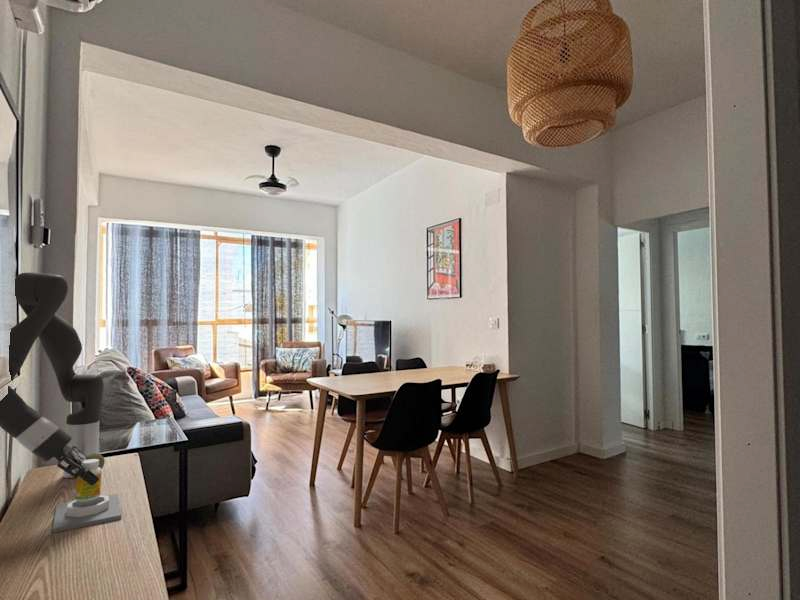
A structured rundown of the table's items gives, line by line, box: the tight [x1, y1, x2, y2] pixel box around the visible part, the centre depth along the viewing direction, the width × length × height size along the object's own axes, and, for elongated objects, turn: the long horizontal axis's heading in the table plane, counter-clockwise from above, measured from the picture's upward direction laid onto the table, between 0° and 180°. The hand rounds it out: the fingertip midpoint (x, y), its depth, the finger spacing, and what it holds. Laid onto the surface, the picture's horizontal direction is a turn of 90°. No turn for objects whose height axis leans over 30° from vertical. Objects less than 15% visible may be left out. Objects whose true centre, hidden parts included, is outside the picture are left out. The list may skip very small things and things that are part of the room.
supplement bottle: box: [75, 459, 102, 502], centre depth 116 cm, size 5×5×10 cm
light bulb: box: [88, 453, 106, 470], centre depth 136 cm, size 6×6×10 cm
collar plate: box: [52, 493, 122, 534], centre depth 116 cm, size 18×14×3 cm
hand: (97, 478), depth 117 cm, fingers closed on supplement bottle, 5 cm apart
